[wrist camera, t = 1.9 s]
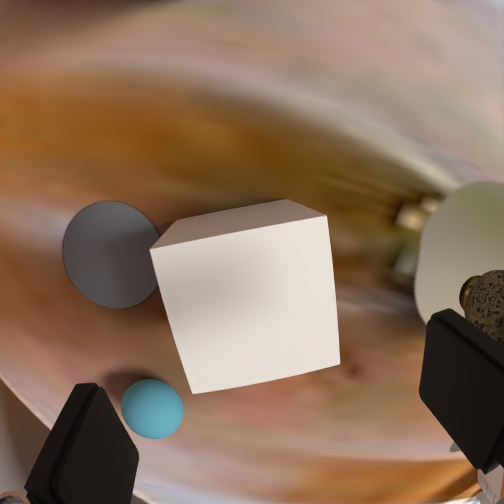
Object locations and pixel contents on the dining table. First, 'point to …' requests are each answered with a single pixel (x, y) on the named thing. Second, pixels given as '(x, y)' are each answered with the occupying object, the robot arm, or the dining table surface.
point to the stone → (485, 303)
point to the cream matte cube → (249, 294)
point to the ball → (152, 408)
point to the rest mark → (111, 254)
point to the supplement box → (491, 483)
